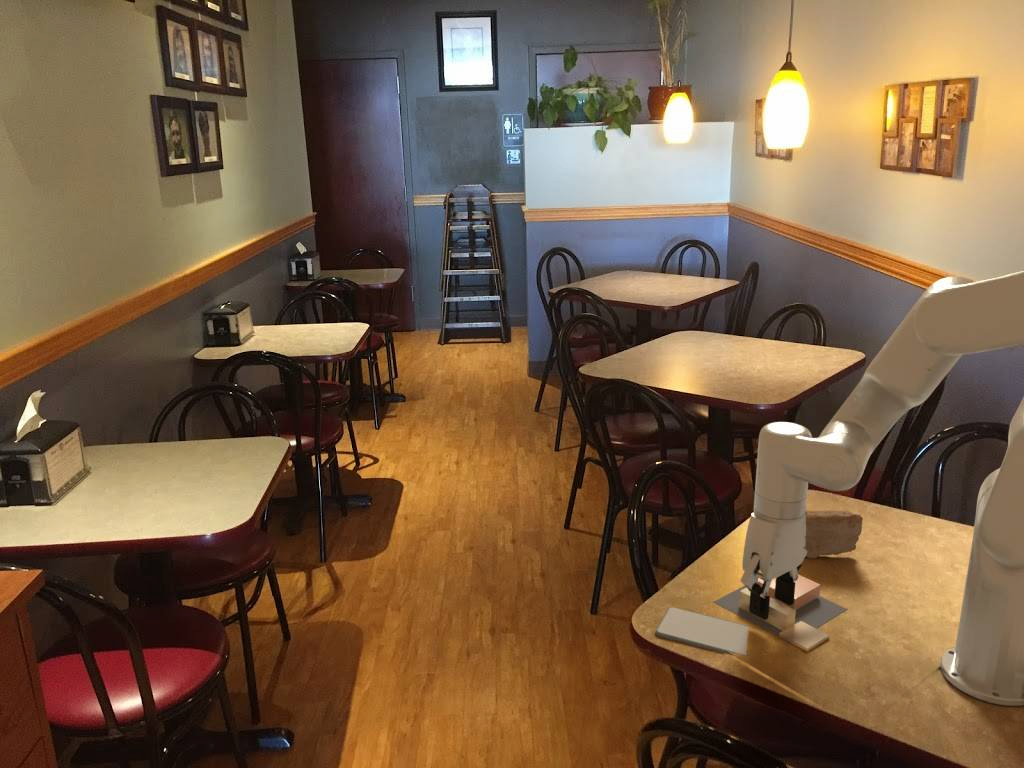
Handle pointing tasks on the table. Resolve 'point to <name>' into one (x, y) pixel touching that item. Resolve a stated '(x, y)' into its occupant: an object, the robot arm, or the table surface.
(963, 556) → the table surface
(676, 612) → the smartphone
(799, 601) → the tile
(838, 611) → the mat
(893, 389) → the robot arm
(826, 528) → the stone
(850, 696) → the table surface
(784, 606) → the turner
